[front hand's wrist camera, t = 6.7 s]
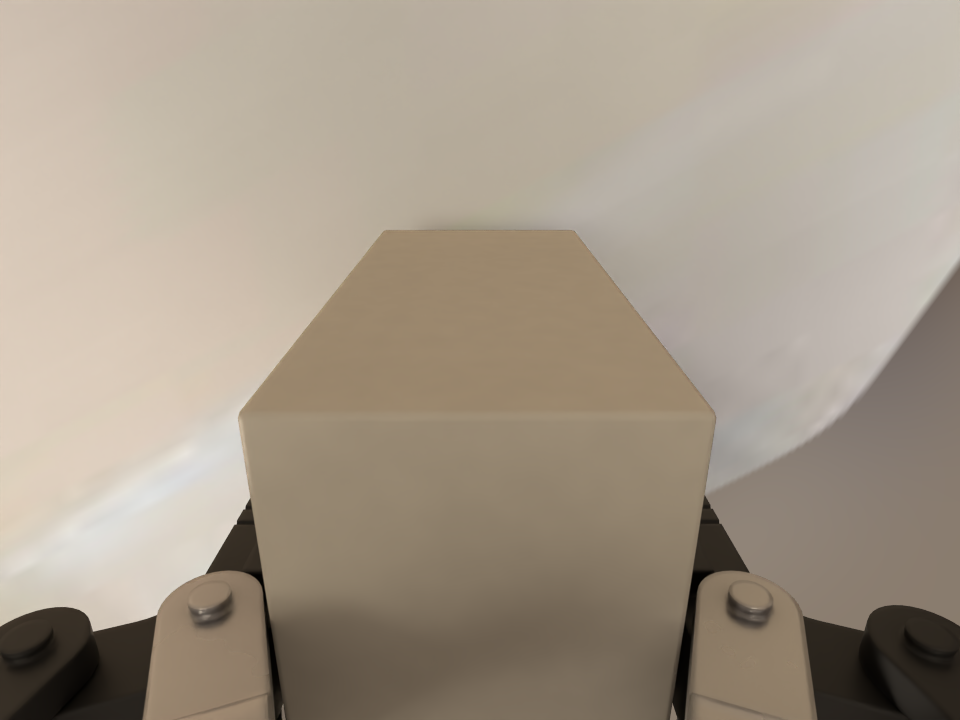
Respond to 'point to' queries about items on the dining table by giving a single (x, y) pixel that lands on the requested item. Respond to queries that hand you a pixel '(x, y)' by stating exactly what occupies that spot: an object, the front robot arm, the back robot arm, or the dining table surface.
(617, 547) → the brick
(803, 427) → the dining table surface
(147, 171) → the dining table surface
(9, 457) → the dining table surface
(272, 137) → the dining table surface
